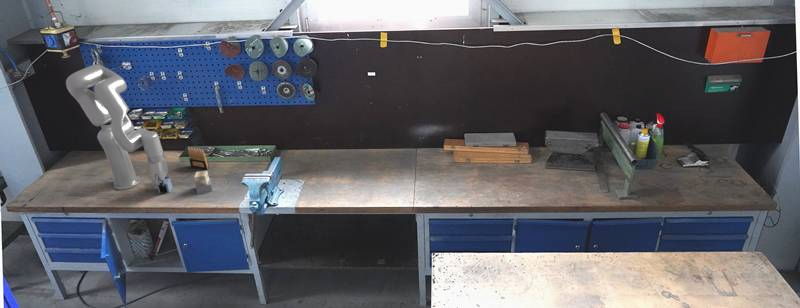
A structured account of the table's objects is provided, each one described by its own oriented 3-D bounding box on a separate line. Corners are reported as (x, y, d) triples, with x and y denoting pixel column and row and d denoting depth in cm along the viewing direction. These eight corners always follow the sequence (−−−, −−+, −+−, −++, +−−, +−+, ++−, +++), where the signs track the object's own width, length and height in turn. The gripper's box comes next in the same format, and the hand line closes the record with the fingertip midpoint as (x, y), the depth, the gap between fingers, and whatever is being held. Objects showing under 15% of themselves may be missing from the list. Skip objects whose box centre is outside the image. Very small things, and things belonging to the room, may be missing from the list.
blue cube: (159, 193, 268) (156, 184, 265) (162, 187, 272) (159, 179, 270) (169, 192, 268) (167, 183, 266) (172, 186, 272) (170, 178, 270)
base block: (197, 194, 265) (195, 187, 263) (197, 187, 271) (195, 180, 269) (212, 191, 267) (210, 184, 265) (211, 184, 273) (210, 177, 271)
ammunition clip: (209, 168, 287) (204, 148, 281) (207, 170, 285) (202, 149, 280) (193, 165, 291) (187, 145, 285) (191, 167, 289) (185, 146, 283)
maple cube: (196, 185, 265) (194, 177, 262) (198, 180, 269) (196, 171, 267) (207, 184, 265) (204, 175, 262) (209, 179, 269) (207, 170, 267)
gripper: (153, 149, 268) (163, 180, 277) (141, 166, 253) (152, 199, 262) (168, 147, 269) (178, 179, 277) (158, 164, 254) (168, 198, 262)
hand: (165, 188), depth 270 cm, fingers closed on blue cube, 5 cm apart
